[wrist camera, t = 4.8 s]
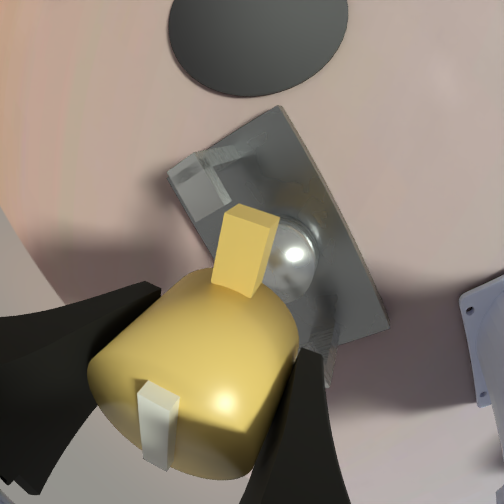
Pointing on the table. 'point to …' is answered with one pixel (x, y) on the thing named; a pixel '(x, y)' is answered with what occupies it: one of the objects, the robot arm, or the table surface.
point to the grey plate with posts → (287, 230)
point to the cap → (204, 360)
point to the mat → (255, 41)
